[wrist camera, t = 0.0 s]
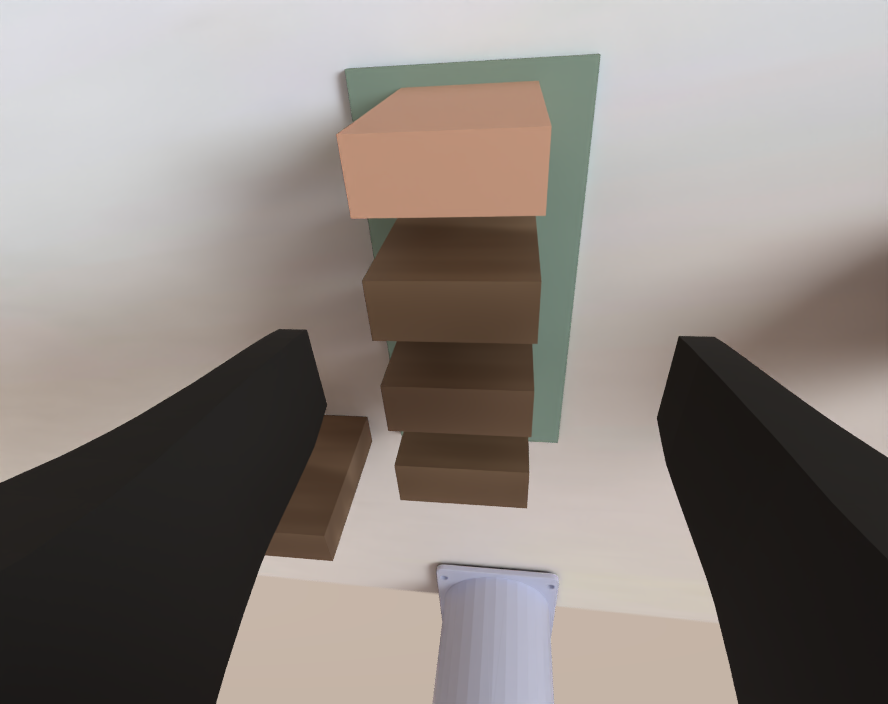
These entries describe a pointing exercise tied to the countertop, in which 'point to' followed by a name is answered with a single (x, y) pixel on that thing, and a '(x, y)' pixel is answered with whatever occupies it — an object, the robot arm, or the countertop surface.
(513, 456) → the domino
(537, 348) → the mat
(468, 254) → the domino
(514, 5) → the countertop surface
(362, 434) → the domino
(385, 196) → the domino end
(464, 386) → the domino
